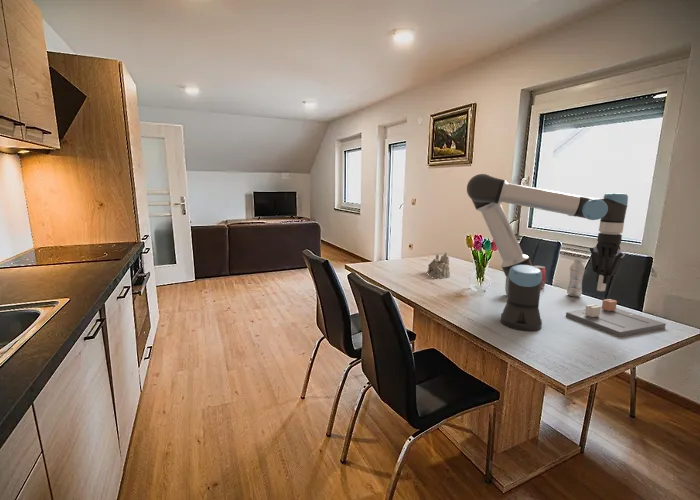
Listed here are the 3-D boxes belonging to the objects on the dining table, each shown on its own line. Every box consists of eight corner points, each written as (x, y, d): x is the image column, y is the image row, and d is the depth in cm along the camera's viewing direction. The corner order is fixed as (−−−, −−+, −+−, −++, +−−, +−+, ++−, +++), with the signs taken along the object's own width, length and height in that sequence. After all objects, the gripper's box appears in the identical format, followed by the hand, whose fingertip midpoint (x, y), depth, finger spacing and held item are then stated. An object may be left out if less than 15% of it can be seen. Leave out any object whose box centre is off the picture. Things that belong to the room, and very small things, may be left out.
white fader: (591, 317, 141) (593, 307, 141) (584, 314, 144) (586, 305, 144) (599, 315, 143) (600, 306, 142) (592, 313, 146) (593, 304, 145)
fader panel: (619, 337, 128) (620, 331, 128) (565, 316, 148) (566, 311, 148) (664, 328, 136) (665, 323, 136) (608, 309, 157) (608, 305, 156)
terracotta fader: (608, 310, 149) (609, 301, 148) (601, 308, 151) (602, 299, 151) (615, 309, 150) (617, 300, 149) (608, 307, 153) (609, 298, 152)
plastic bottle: (575, 294, 180) (580, 256, 177) (584, 298, 173) (589, 259, 170) (563, 294, 180) (567, 256, 176) (572, 298, 173) (576, 259, 170)
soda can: (531, 285, 197) (533, 264, 195) (545, 287, 192) (547, 266, 190) (528, 287, 191) (530, 266, 189) (543, 290, 187) (545, 268, 185)
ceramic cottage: (433, 270, 230) (434, 249, 226) (455, 276, 218) (456, 253, 214) (418, 276, 220) (419, 253, 216) (440, 282, 208) (441, 258, 204)
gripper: (634, 235, 130) (624, 294, 134) (600, 230, 142) (591, 285, 146) (621, 235, 128) (611, 296, 132) (587, 231, 140) (579, 286, 144)
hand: (600, 290), depth 139 cm, fingers closed
